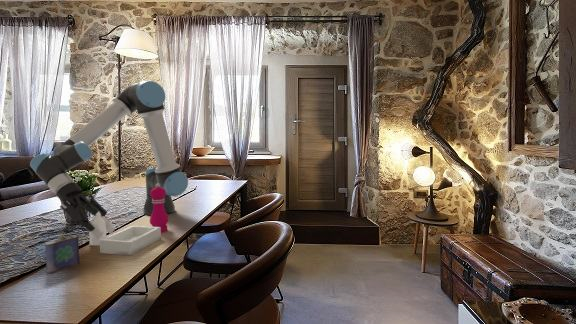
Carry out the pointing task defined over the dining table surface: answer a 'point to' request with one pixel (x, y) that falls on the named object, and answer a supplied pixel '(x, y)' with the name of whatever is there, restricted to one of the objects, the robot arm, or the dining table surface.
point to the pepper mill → (158, 208)
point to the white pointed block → (101, 225)
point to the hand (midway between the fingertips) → (106, 233)
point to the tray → (130, 240)
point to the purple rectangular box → (62, 253)
